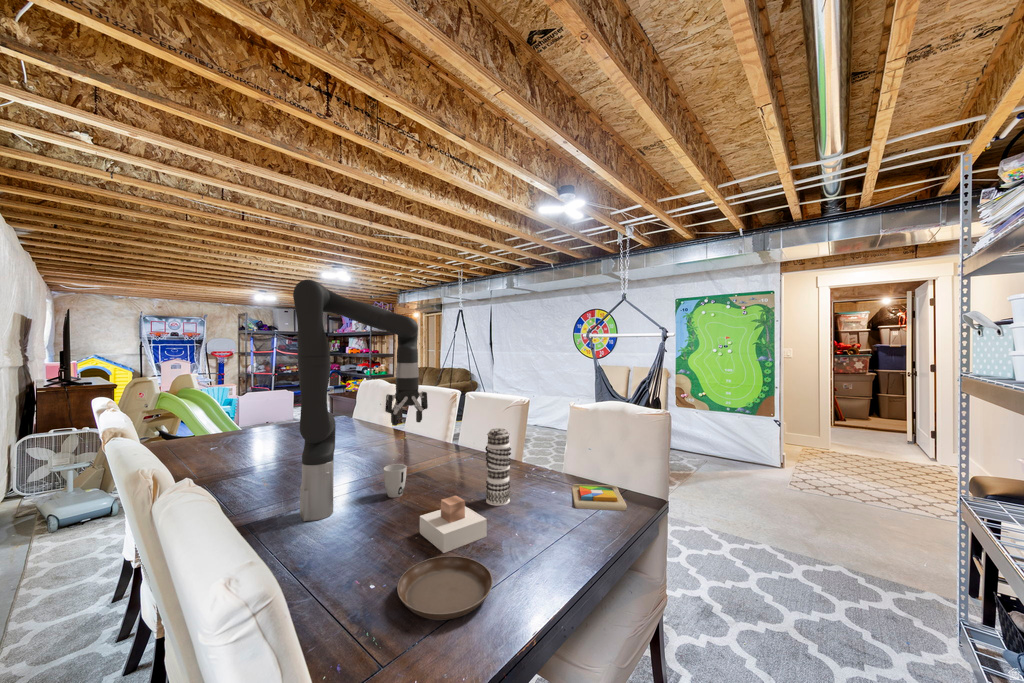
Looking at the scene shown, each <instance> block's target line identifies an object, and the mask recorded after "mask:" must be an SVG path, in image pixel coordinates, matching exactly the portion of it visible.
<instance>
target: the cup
mask: <svg viewBox="0 0 1024 683" xmlns="http://www.w3.org/2000/svg"><path fill="white" fill-rule="evenodd" d="M407 469H408V466H407V465H405V464H401V463H397V464H396V463H395V464H389V465H386V466H384V467H383V479H384V480H383V481H384V486H385V491H386V494H387V497H389V498H399V497H401V496H403V493H404V490H405V485H406V480H407Z"/></svg>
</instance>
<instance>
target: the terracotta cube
mask: <svg viewBox="0 0 1024 683" xmlns="http://www.w3.org/2000/svg"><path fill="white" fill-rule="evenodd" d="M465 506H466V500H464V499H463V498H461V497H460V496H457V495H453V496H452V495H451V496H449V497H446V498H442V499H440V510H441V517H442V518H443V519H445V520H446V521H447V522H449V523H452V522H455V521H458V520H461V519H463V518H465Z"/></svg>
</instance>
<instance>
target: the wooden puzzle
mask: <svg viewBox="0 0 1024 683" xmlns="http://www.w3.org/2000/svg"><path fill="white" fill-rule="evenodd" d="M571 492H572V498H573V504H574V507H575V508H576V509H579V510H594V511H595V510H599V511H601V510H602V511H603V510H604V511H616V512H617V511H620V512H625V511H626V510H627V507H628V506H627V503H626V500H624V498H623V496H622V495H621V493H620V491H619V488H618V487H617V486H615V485H607V484H606V485H603V484H602V485H601V484H600V485H599V484H577V483H575V484H573V485H572V487H571Z"/></svg>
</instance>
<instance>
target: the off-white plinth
mask: <svg viewBox="0 0 1024 683" xmlns="http://www.w3.org/2000/svg"><path fill="white" fill-rule="evenodd" d="M487 520H488V519H487V518H486V517H484V516H482V515H480V514H479V513H477V512H476V511H474V510H473V509H471V508H469V507H467V506H466V505H465V518H463V519H461V520H458V521H455V522H452V523H449V522H447V521H446V520H445V519H443V518H442V517H441V509H439V510H438V509H437V510H435V511H431V512H428V513H425V514H421V515H419V534H420V535H421V536H422V537H423V538H425V539H426V540H427V541H428V542H430V543H431V544H432V545H434V546H435V547H436V549H438V550H439V551H441V553H443V554H446V553H448V552H450V551H454V550H455V549H456V550H457V549H458V548H460V547H464V546H465V545H469V544H471V543H474V542H476V541H478V540H481V539H484V538H487V536H488V535H487V529H488V528H487V526H488V524H487V523H488V521H487Z"/></svg>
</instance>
